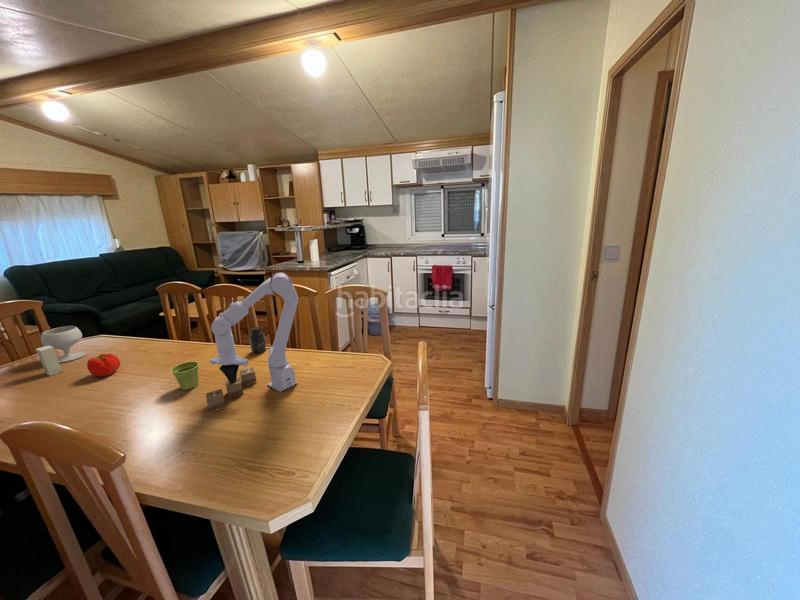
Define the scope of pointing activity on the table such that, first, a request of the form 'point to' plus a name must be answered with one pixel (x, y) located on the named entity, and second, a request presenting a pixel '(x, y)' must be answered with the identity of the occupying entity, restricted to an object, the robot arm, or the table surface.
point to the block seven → (247, 376)
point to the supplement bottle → (257, 340)
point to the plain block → (234, 388)
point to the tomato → (103, 365)
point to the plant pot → (186, 374)
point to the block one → (215, 400)
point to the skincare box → (49, 360)
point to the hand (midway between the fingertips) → (233, 381)
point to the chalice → (63, 341)
